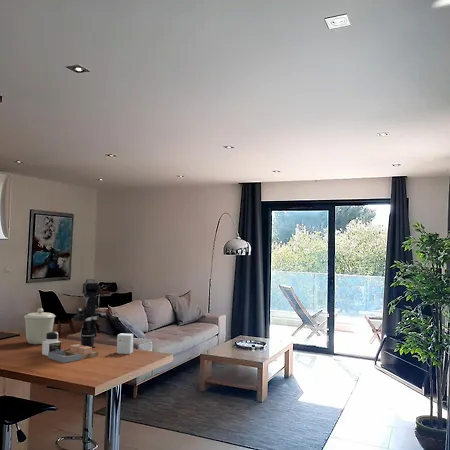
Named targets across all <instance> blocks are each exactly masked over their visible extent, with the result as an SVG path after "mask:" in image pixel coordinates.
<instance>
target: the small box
mask: <svg viewBox="0 0 450 450" xmlns="http://www.w3.org/2000/svg"><path fill="white" fill-rule="evenodd" d="M132 353H134V333H122V332H121V333H119V334H117V339H116V354H123V355H124V354H125V355H131V354H132Z"/></svg>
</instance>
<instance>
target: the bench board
mask: <svg viewBox="0 0 450 450" xmlns="http://www.w3.org/2000/svg"><path fill="white" fill-rule="evenodd" d="M77 354H80V353H79V352H72V351H70V350H65V355H68V356H72V355H77ZM94 356H95V357H98V356H99V352H98V351H94V350H92V353H89V354H82V355H81V360H83V359H84V358H85V359H90V358H95V357H94ZM89 357H90V358H89Z"/></svg>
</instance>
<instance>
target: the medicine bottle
mask: <svg viewBox="0 0 450 450" xmlns="http://www.w3.org/2000/svg"><path fill="white" fill-rule="evenodd" d="M46 340H47V341H43V344H41V345H42V346H41V347H42V348H41V355H42V356H46V357H48V352H54V351H59V350H62V341H60V340H59V333H58V331H52V332H49V333H47V334H46Z"/></svg>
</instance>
